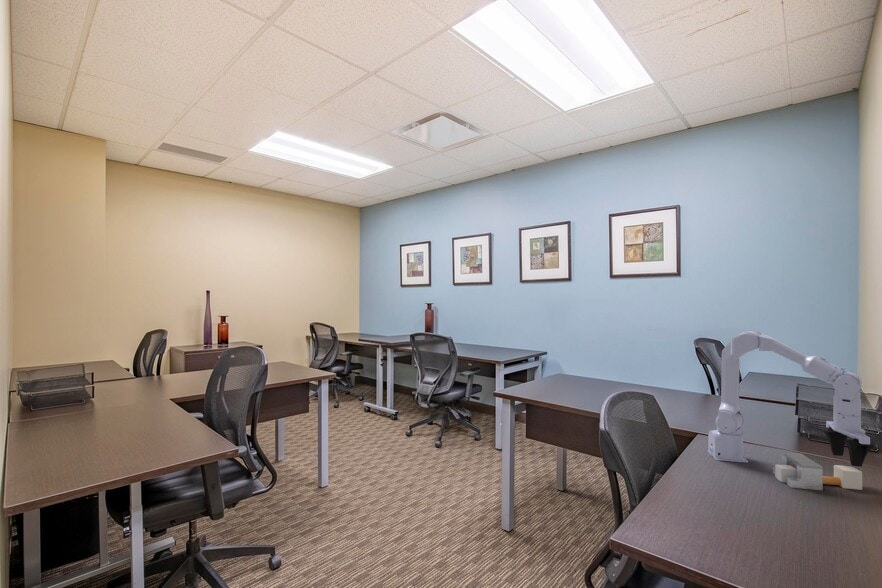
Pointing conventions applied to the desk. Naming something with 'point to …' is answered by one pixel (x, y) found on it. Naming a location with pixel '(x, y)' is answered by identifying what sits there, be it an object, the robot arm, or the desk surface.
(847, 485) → the plug
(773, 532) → the desk surface
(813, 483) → the housing
